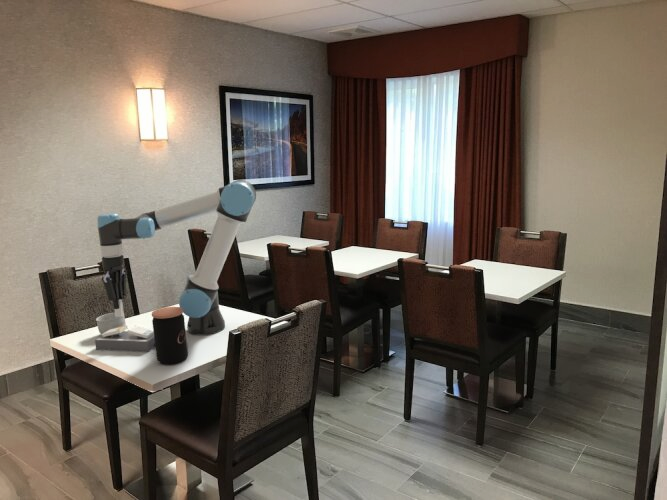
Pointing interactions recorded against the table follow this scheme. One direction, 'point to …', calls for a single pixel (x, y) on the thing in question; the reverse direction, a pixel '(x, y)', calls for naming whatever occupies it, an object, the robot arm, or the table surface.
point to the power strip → (125, 342)
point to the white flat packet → (140, 332)
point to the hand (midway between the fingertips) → (119, 316)
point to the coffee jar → (169, 335)
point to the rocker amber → (114, 331)
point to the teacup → (109, 322)
